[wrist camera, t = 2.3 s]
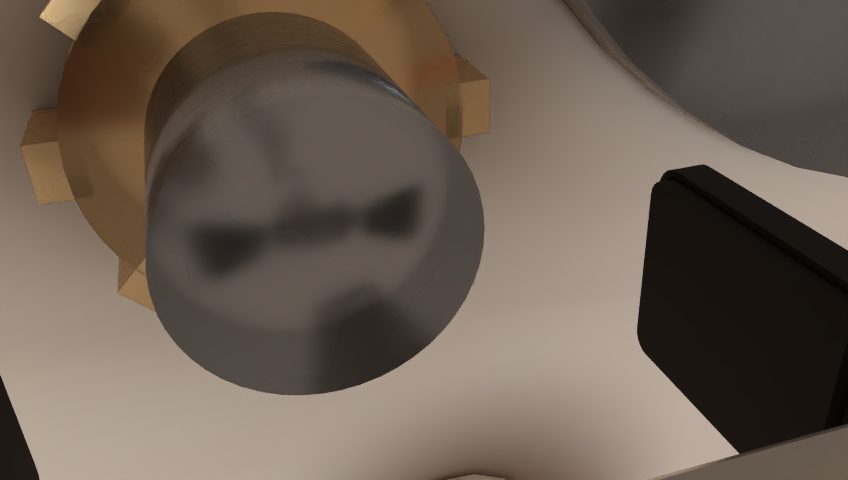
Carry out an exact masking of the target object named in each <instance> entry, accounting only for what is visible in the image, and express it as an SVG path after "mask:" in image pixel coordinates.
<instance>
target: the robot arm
mask: <svg viewBox="0 0 848 480" xmlns="http://www.w3.org/2000/svg"><path fill="white" fill-rule="evenodd" d="M637 335H638V340H639V343H640V346H641V348H642V350H643V351H644V352H645V354H646V355H647V356H648V357H649V358H650V359H651V360H652V361H653V362H654V363H655V364H656V366H657V367H658V368H659V369H660V370H661V371H662V372H663V373H664V374H665V375H666V376H667V377H668V378H669V379H670V380H671V381H672V383H673V384H674V385H675V386H676V387H677V388H678V389H679V390H680V391H681V392H682V393H683V394H684V395H685V396H686V397H687V398H688V399H689V401H690V402H691V403H692V404H693V405H694V406H695V407H696V408H697V409H698V410H699V411H700V412H701V413H702V414H703V415H704V416H705V418H706V419H707V420H708V421H709V422H710V423H711V424H712V425H713V426H714V427H715V428H716V429H717V430H718V431H719V432H720V433H721V435H722V436H723V437H724V438H725V439H726V440H727V441H728V442H729V443H730V444H731V445H732V446H733V447H734V448H735V449H736V450H737V452H738V453H739V454H738V455H734V456H731V457H727V458H724V459H720V460H716V461H713V462H709V463H706V464H702V465H699V466H695V467H692V468H688V469H684V470H681V471H677V472H674V473H670V474H667V475H663V476H660V477H656V478H652V479H649V480H848V250H846V249H844V248H843V247H841V246H839V245H838V244H836V243H834V242H833V241H831V240H829V239H828V238H826V237H824V236H823V235H821V234H820V233H818V232H816V231H815V230H813V229H811V228H810V227H808V226H806V225H805V224H803V223H801V222H800V221H798V220H796V219H795V218H793V217H791V216H790V215H788V214H786V213H785V212H783V211H781V210H780V209H778V208H777V207H775V206H773V205H772V204H770V203H768V202H767V201H765V200H763V199H762V198H760V197H758V196H757V195H755V194H753V193H752V192H750V191H748V190H747V189H745V188H743V187H742V186H740V185H738V184H737V183H735V182H734V181H732V180H730V179H729V178H727V177H725V176H724V175H722V174H720V173H719V172H717V171H715V170H714V169H712V168H710V167H709V166H706V165H697V166H691V167H686V168H680V169H675V170H669V171H667V172H665V173H664V174H663V176H662V178H661V179H660V182H657V183H656V184H655V185H654V186H653V188H652V193H651V200H650V210H649V220H648V229H647V239H646V248H645V258H644V268H643V277H642V287H641V296H640V306H639V316H638V325H637ZM0 480H39V475H38V472H37V469H36V466H35V463H34V461H33V458H32V456H31V453H30V451H29V448H28V445H27V443H26V440H25V438H24V435H23V433H22V430H21V427H20V425H19V422H18V420H17V417H16V414H15V412H14V409H13V407H12V404H11V402H10V399H9V396H8V394H7V391H6V389H5V386H4V384H3V381H2V378H1V376H0Z"/></svg>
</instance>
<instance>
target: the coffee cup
mask: <svg viewBox="0 0 848 480" xmlns="http://www.w3.org/2000/svg"><path fill="white" fill-rule="evenodd" d="M446 480H506V479H504V478H498V477H491V476H484V475H477V474H472V475H467V476H462V477H457V478H451V479H446Z"/></svg>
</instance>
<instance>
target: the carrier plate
mask: <svg viewBox="0 0 848 480" xmlns="http://www.w3.org/2000/svg"><path fill="white" fill-rule="evenodd" d="M564 1H565V3H566V4H567V5H568V6H569V8H570V9H571V10H572V11H573V13H574V14H575V15H576V16H577V18H578V19H579V20H580V21H581V22H582V24H583V25H584V26H585V27H586V29H587V30H588V31H589V32H590V34H591V35H592V36H593V37H594V39H595V40H596V41H597V42H598V44H599V45H600V46H601V47H602V48H603V49H604V50H606V51H607V52H608V53H609V54H610V55H611V56H612V57H613V58H614V59H616V60H617V61H618V62H619V63H620V64H621V65H622V66H623V67H624V68H626V69H627V70H628V71H629V72H630V73H631V74H632V75H633V76H635V77H636V78H637V79H638V80H639V81H640V82H641V83H642V84H643V85H645V86H646V87H647V88H648V89H649V90H650V91H651V92H652V93H654V94H656V95H657V96H659V97H660V98H662V99H664V100H665V101H667V102H668V103H670V104H672V105H673V106H675V107H676V108H678V109H680V110H681V111H683V112H684V113H686V114H688V115H689V116H691V117H692V118H694V119H696V120H697V121H699V122H700V123H702V124H704V125H705V126H707V127H709V128H711V129H712V130H714V131H716V132H718V133H720V134H721V135H723V136H725V137H727V138H729V139H730V140H732V141H734V142H736V143H737V144H739V145H741V146H744V147H746V148H749V149H751V150H754V151H756V152H759V153H762V154H764V155H767V156H769V157H772V158H774V159H777V160H779V161H782V162H784V163H787V164H790V165H792V166H795V167H798V168H803V169H809V170H814V171H819V172H824V173H829V174H834V175H839V176H845V177H848V0H564Z"/></svg>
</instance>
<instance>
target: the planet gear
mask: <svg viewBox="0 0 848 480" xmlns="http://www.w3.org/2000/svg"><path fill="white" fill-rule="evenodd" d="M40 18H41V19H43V20H44V21H46V22H48V23H49V24H51V25H52V26H54V27H55V28H57V29H58V30H60V31H61V32H63V33H64V34H66V35H67V36H69V37H70V38H72V39H73V40H72V44H71V47H70V51H69V54H68V57H67V61H66V64H65V68H64V72H63V76H62V80H61V85H60V89H59V97H58V108H51V109H44V110H36V111H33V112H32V115H31V117H30V120H29V123H28V126H27V129H26V131H25V134H24V137H23V140H22V142H21V145H20V148H21V151H22V154H23V157H24V160H25V163H26V166H27V169H28V173H29V176H30V179H31V182H32V185H33V188H34V191H35V194H36V197H37V201H38V204H39V205H42V204H48V203H54V202H60V201H66V200H73V199H75V200H76V201H77V203H78V205H79V207H80V209H81V210H82V212H83V214H84V216H85V218H86V219H87V221H88V222H89V223H90V225H91V226H92V227H93V229H94V230H95V231H96V233H97V234H98V235H99V237H100V238H101V239H102V240H103V241H104V242H105V243H106V244H107V245H108V246H109V247H110V248H111V249H112V250H113V251H114V252H115V253H116V254H117V255H118V256H119V273H118V293H119V294H121V295H123V296H125V297H127V298H129V299H131V300H133V301H135V302H137V303H139V304H141V305H143V306H145V307H147V308H149V309H151V310H153V311H155V312H156V313H157V315H158V317H159V319H160V321H161V323H162V324H163V326H164V328H165V330H166V331H167V332H168V334H169V335H170V336H171V338H172V339H173V340H174V342H175V343H176V344H177V345H178V346H179V347H180V348H181V349H182V350H183V351H184V352H185V353H186V354H187V355H188V356H189V357H190V358H191V359H192V360H193V361H195V362H196V363H198V364H199V365H200V366H202V367H203V368H204V369H206V370H207V371H209V372H211V373H213V374H214V375H216V376H218V377H220V378H222V379H224V380H226V381H229V382H231V383H234V384H236V385H239V386H241V387H245V388H249V389H253V390H256V391H260V392H266V393H274V394H281V395H310V394H322V393H327V392H333V391H338V390H343V389H346V388H350V387H353V386H357V385H360V384H363V383H365V382H368V381H370V380H373V379H375V378H378V377H380V376H382V375H384V374H386V373H388V372H390V371H392V370H394V369H395V368H397V367H399V366H400V365H402V364H403V363H405V362H406V361H408V360H410V359H411V358H413V357H414V356H415V355H416V354H418V353H419V352H420V351H421V350H423V349H424V348H425V347H426V346H428V345H429V344H430V343H431V342H432V341H433V340H434V339H435V338H436V337H437V336H438V335H439V334H440V333H441V332H442V331H443V330H444V328H445V327H446V326H447V325H448V323H449V322H450V321H451V320H452V318H453V317H454V316H455V315H456V313H457V311H458V310H459V308H460V307H461V305H462V304H463V302H464V300H465V299H466V297H467V295H468V292H469V290H470V288H471V286H472V284H473V282H474V279H475V276H476V273H477V270H478V267H479V264H480V259H481V254H482V249H483V241H484V216H483V207H482V203H481V198H480V194H479V190H478V187H477V185H476V182H475V180H474V177H473V174H472V172H471V171H470V169H469V167H468V165H467V164H466V162H465V160H464V158H463V157H462V155H461V154H460V153H459V150H460V144H461V139H462V137H463V136H470V135H476V134H482V133H488V132H490V79H489V78H488V77H486V76H485V75H484V74H483V73H481V72H480V71H479V70H477V69H476V68H475V67H473V66H472V65H471V64H470V63H468V62H467V61H466V60H464V59H463V58H462V57H461V56H459V55H458V54H456V55H453V52H452V49H451V47H450V44H449V41H448V39H447V37H446V35H445V33H444V31H443V29H442V28H441V26H440V24H439V22H438V20H437V18H436V17H435V15H434V14H433V12H432V11H431V10H430V8H429V7H428V5H427V4H426V3H425V1H424V0H48V1H47V3H46V5H45V7H44V9H43V11H42V13H41V15H40Z"/></svg>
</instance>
